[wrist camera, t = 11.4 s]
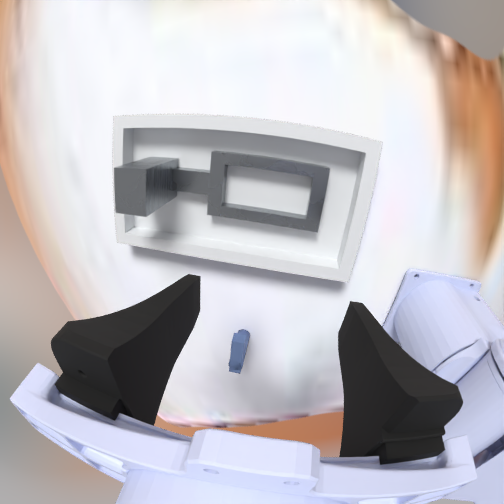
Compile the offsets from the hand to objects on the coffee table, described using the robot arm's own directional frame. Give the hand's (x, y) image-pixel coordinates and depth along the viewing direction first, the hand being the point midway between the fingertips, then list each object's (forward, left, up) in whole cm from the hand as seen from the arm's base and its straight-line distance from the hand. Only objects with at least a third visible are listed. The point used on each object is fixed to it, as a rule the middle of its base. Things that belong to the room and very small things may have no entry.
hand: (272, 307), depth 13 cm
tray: (+4, -3, -9) cm, 11 cm away
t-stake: (+2, +11, -9) cm, 15 cm away
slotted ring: (+4, -3, -9) cm, 10 cm away
